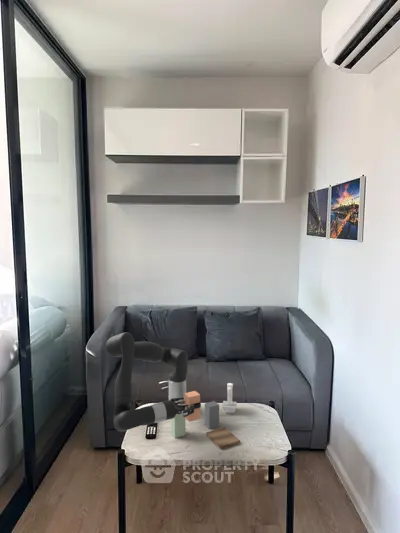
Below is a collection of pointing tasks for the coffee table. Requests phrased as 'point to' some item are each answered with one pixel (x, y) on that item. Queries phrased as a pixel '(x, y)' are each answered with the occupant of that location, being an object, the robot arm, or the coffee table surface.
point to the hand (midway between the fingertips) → (197, 402)
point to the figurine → (229, 401)
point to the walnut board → (222, 438)
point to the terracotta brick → (192, 399)
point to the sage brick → (178, 426)
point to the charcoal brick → (211, 414)
